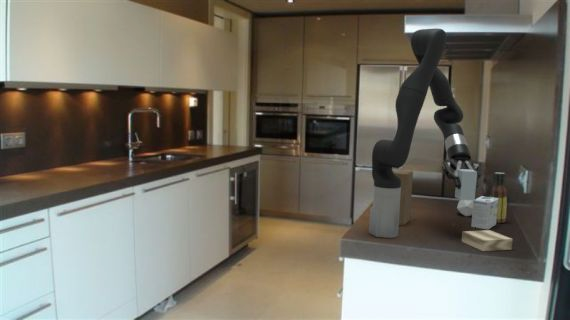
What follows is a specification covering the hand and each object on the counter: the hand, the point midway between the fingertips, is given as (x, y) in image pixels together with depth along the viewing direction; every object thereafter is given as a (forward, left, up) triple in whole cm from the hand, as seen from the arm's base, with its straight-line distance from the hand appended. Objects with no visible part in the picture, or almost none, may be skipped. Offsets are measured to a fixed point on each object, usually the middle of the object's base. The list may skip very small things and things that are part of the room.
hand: (467, 187), depth 168 cm
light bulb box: (+20, +15, -18) cm, 31 cm away
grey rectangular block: (0, +2, -4) cm, 5 cm away
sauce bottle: (+30, +20, -18) cm, 40 cm away
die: (+25, +32, -18) cm, 44 cm away
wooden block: (-12, +27, -18) cm, 35 cm away
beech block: (+3, -8, -18) cm, 20 cm away
